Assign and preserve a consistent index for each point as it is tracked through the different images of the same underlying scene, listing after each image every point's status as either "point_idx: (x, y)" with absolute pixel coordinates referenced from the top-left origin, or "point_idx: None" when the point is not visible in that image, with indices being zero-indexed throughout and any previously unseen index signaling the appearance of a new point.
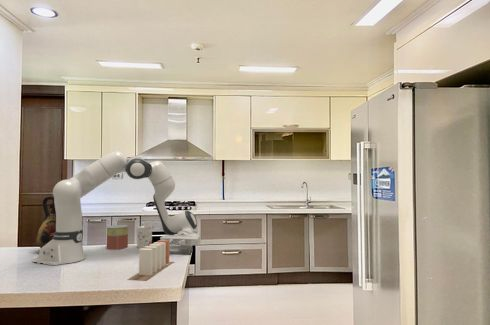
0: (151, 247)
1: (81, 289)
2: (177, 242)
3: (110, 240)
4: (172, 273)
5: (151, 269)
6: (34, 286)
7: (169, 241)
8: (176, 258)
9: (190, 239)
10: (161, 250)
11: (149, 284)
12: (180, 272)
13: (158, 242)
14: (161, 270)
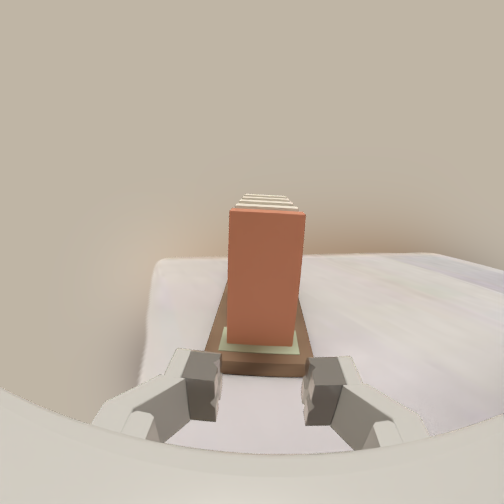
0: (259, 197)
1: (349, 256)
2: (215, 355)
3: None
4: (184, 300)
5: None
6: (433, 261)
7: (346, 356)
8: None
9: (6, 395)
10: None
11: (226, 265)
12: (155, 305)
13: (275, 206)
14: (225, 290)
